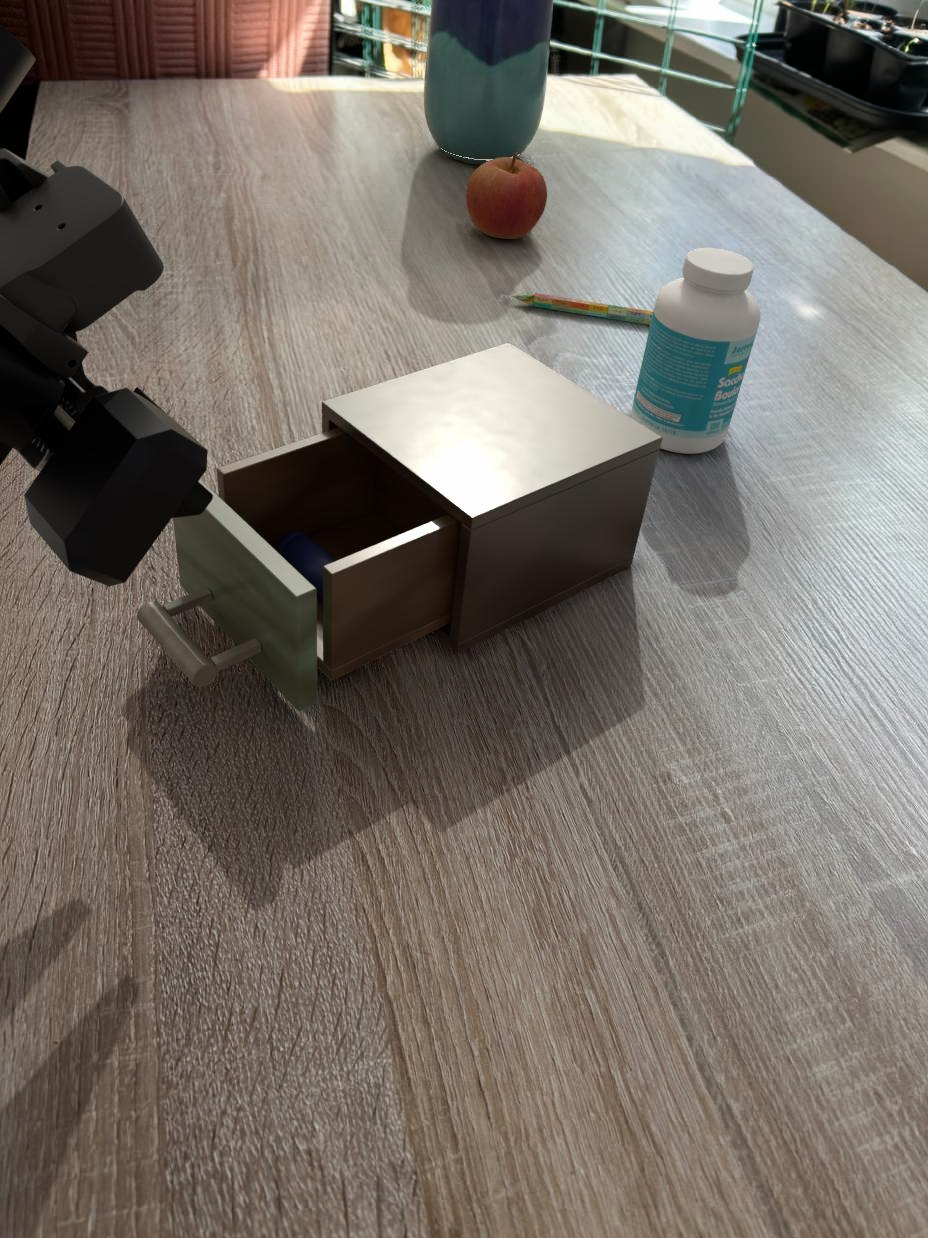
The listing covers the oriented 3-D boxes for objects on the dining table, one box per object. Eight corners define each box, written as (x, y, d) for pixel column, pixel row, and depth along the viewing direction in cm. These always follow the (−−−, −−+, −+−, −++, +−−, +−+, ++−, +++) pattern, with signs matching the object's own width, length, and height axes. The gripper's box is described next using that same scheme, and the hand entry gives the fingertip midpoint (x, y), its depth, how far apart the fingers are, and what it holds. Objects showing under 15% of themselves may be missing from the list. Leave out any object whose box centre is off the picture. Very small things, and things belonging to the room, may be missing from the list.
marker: (268, 533, 61) (301, 519, 62) (271, 563, 62) (303, 549, 63) (350, 609, 56) (384, 593, 57) (351, 639, 58) (384, 622, 59)
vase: (396, 151, 124) (410, -182, 104) (464, 127, 133) (489, -184, 113) (495, 183, 119) (530, -161, 98) (558, 156, 128) (603, -165, 107)
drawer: (228, 747, 53) (218, 630, 48) (113, 611, 59) (93, 496, 54) (494, 616, 62) (510, 506, 57) (369, 511, 69) (372, 404, 64)
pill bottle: (717, 468, 78) (767, 292, 69) (619, 443, 79) (656, 268, 70) (731, 420, 83) (779, 252, 75) (639, 398, 85) (676, 230, 76)
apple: (543, 224, 111) (553, 144, 106) (539, 253, 105) (551, 170, 100) (466, 214, 111) (474, 134, 106) (459, 243, 105) (466, 160, 100)
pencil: (509, 304, 96) (709, 336, 94) (511, 292, 95) (712, 324, 93) (511, 298, 97) (709, 330, 95) (513, 287, 96) (712, 318, 94)
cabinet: (456, 655, 60) (472, 518, 54) (321, 534, 68) (321, 401, 62) (631, 566, 68) (663, 437, 62) (493, 466, 75) (508, 341, 69)
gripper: (122, 203, 31) (407, 430, 44) (-104, 39, 41) (182, 263, 54) (-93, 514, 32) (248, 645, 45) (-262, 278, 42) (56, 441, 55)
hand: (181, 479), depth 49 cm, fingers open, 4 cm apart
